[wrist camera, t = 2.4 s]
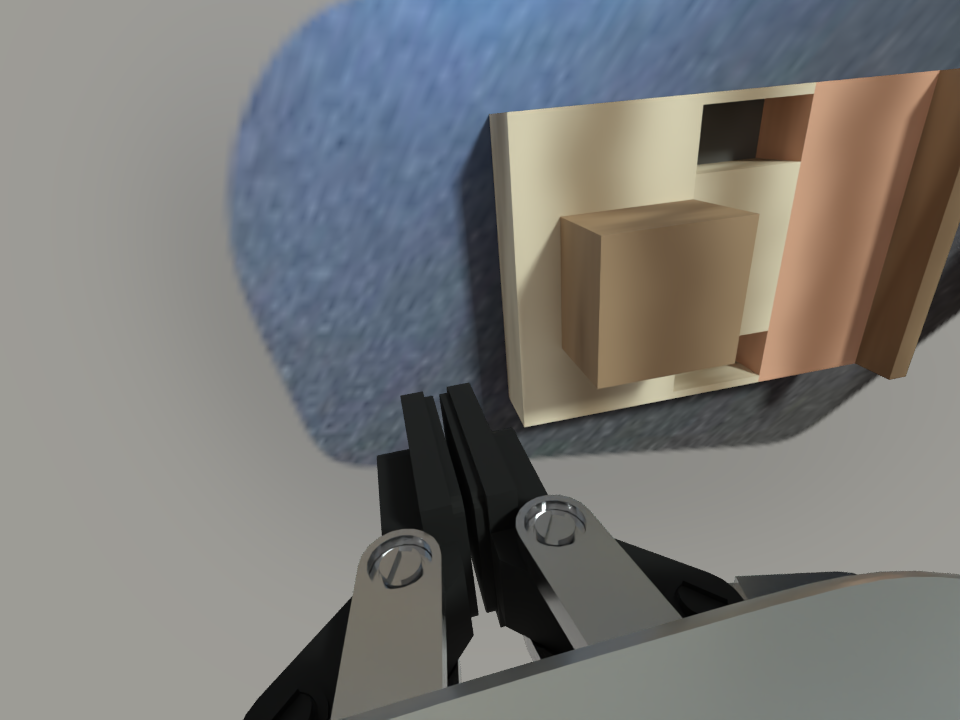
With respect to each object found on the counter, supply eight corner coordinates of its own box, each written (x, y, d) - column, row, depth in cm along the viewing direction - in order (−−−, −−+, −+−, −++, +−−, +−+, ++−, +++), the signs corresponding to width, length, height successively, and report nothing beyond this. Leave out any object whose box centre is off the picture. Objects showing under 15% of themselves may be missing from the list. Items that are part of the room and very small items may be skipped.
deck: (892, 75, 23) (1015, 62, 19) (825, 339, 30) (905, 376, 25) (489, 114, 20) (522, 110, 16) (509, 397, 27) (536, 450, 22)
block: (693, 199, 21) (759, 213, 17) (679, 327, 23) (734, 363, 20) (560, 216, 20) (601, 235, 16) (561, 348, 23) (597, 388, 19)
